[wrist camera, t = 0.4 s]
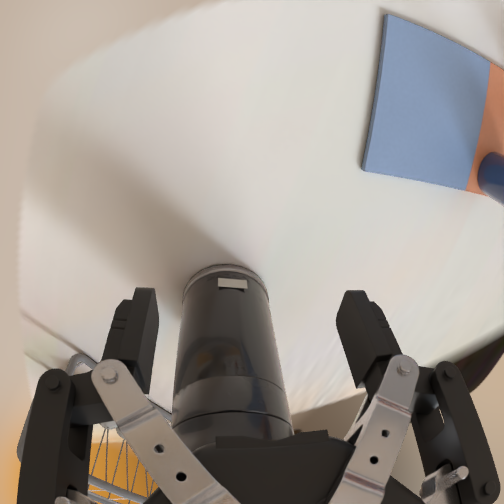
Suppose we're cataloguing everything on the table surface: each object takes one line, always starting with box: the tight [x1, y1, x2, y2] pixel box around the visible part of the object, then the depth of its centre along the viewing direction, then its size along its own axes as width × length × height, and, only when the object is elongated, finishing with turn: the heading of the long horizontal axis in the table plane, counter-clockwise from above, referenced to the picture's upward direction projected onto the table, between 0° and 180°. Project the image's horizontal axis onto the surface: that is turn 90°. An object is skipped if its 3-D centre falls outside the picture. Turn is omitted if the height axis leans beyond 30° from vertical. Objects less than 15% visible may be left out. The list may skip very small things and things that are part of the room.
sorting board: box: [361, 14, 504, 197], centre depth 27 cm, size 16×28×1 cm, turn 84°
